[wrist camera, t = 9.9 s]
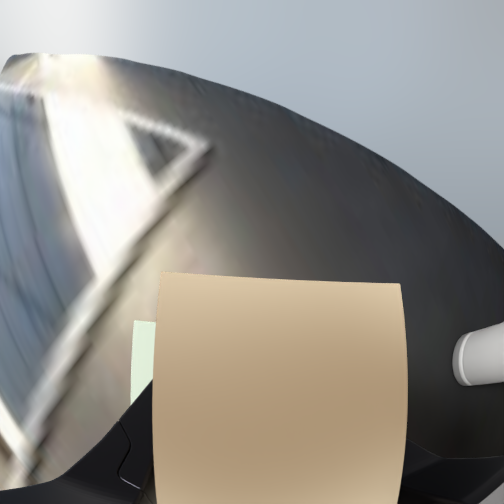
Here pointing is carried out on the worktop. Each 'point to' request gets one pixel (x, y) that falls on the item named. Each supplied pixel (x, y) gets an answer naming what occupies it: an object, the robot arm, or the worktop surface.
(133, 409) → the robot arm
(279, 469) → the tall tan tower
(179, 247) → the worktop surface
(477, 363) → the travel mug
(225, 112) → the worktop surface
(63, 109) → the worktop surface
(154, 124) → the worktop surface
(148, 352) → the mat
